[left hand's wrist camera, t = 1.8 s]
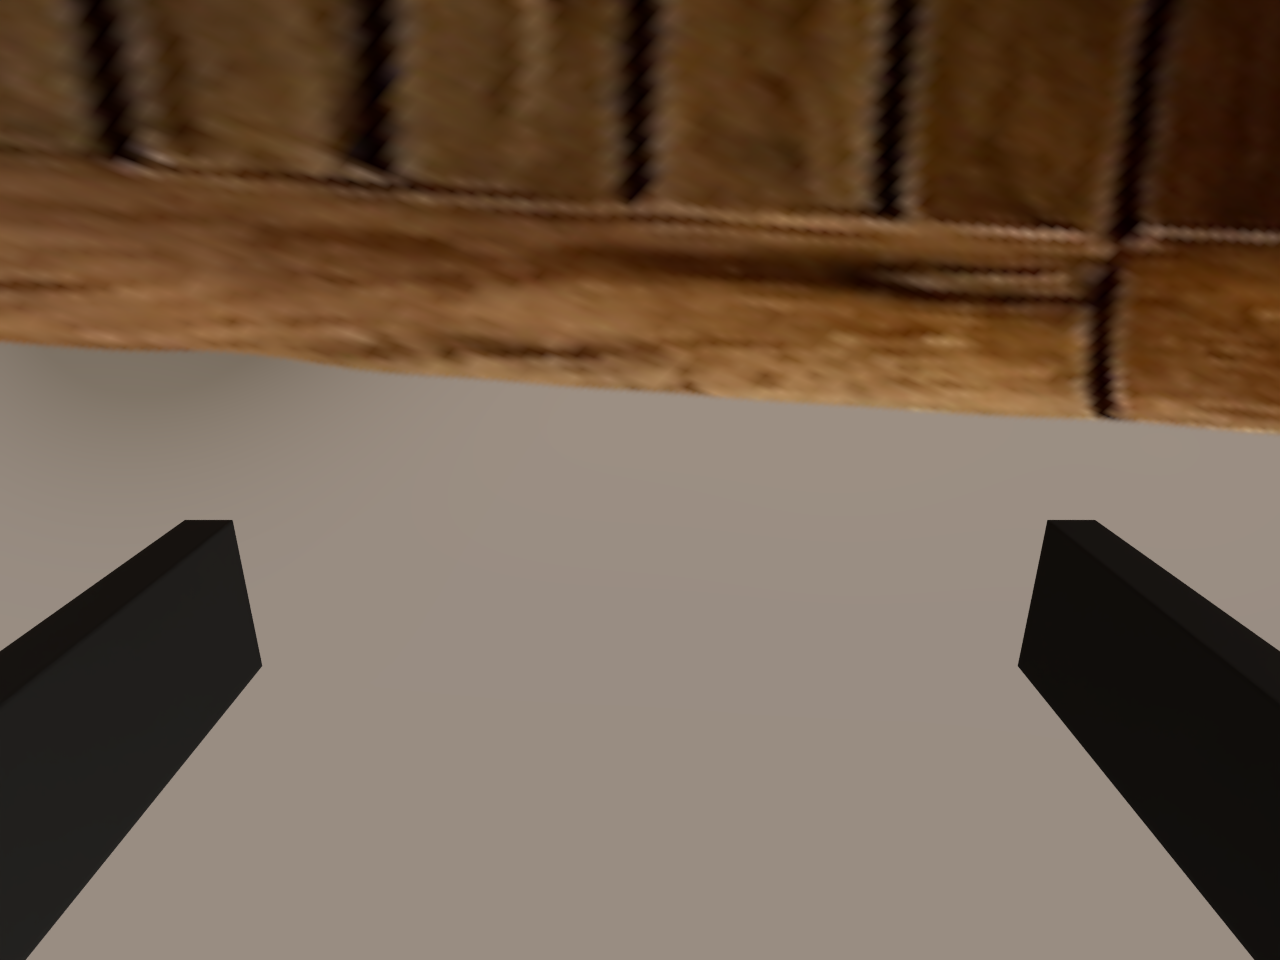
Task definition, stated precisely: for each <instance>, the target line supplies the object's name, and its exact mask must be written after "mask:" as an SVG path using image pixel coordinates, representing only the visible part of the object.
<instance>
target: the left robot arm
mask: <svg viewBox="0 0 1280 960" xmlns="http://www.w3.org/2000/svg"><path fill="white" fill-rule="evenodd" d="M261 667H262V663H261V658H260V653H259V648H258V643H257V638H256V633H255V628H254V623H253V619H252V614H251V609H250V604H249V599H248V594H247V589H246V584H245V579H244V575H243V569H242V564H241V560H240V555H239V550H238V545H237V540H236V535H235V530H234V525H233V521H232V520H184V521H183V522H182V523H180V524H179V525H177V526H176V527H175V528H173V529H172V530H170V531H169V532H168V533H166V534H165V535H163V536H162V537H161V538H159V539H158V540H156V541H155V542H153V543H152V544H151V545H149V546H148V547H146V548H145V549H144V550H142V551H141V552H139V553H138V554H137V555H135V556H134V557H132V558H131V559H130V560H128V561H127V562H125V563H124V564H122V565H121V566H120V567H118V568H117V569H115V570H114V571H113V572H111V573H110V574H108V575H107V576H106V577H104V578H103V579H101V580H100V581H99V582H97V583H96V584H94V585H93V586H92V587H90V588H89V589H87V590H86V591H84V592H83V593H82V594H80V595H79V596H77V597H76V598H75V599H73V600H72V601H70V602H69V603H68V604H66V605H65V606H63V607H62V608H61V609H59V610H58V611H56V612H55V613H54V614H52V615H51V616H49V617H48V618H46V619H45V620H44V621H42V622H41V623H39V624H38V625H37V626H35V627H34V628H32V629H31V630H30V631H28V632H27V633H25V634H24V635H23V636H21V637H20V638H18V639H17V640H16V641H14V642H13V643H11V644H10V645H9V646H7V647H6V648H4V649H3V650H1V651H0V960H26V959H27V957H28V956H29V955H30V954H31V952H32V951H33V950H34V949H35V947H36V946H37V945H38V944H39V942H40V941H41V940H42V939H43V938H44V936H45V935H46V934H47V933H48V931H49V930H50V929H51V928H52V926H53V925H54V924H55V923H56V921H57V920H58V919H59V918H60V916H61V915H62V914H63V913H64V911H65V910H66V909H67V908H68V906H69V905H70V904H71V903H72V902H73V900H74V899H75V898H76V896H77V895H78V894H79V893H80V891H81V890H82V889H83V888H84V887H85V885H86V884H87V883H88V882H89V880H90V879H91V878H92V877H93V875H94V874H95V873H96V872H97V870H98V869H99V868H100V867H101V865H102V864H103V863H104V862H105V861H106V859H107V858H108V857H109V856H110V854H111V853H112V852H113V851H114V849H115V848H116V847H117V846H118V844H119V843H120V842H121V841H122V839H123V838H124V837H125V836H126V834H127V833H128V832H129V831H130V829H131V828H132V827H133V826H134V824H135V823H136V822H137V821H138V820H139V818H140V817H141V816H142V815H143V813H144V812H145V811H146V810H147V808H148V807H149V806H150V805H151V803H152V802H153V801H154V800H155V798H156V797H157V796H158V795H159V793H160V792H161V791H162V790H163V788H164V787H165V786H166V785H167V784H168V782H169V781H170V780H171V778H172V777H173V776H174V775H175V773H176V772H177V771H178V770H179V769H180V767H181V766H182V765H183V764H184V762H185V761H186V760H187V759H188V757H189V756H190V755H191V754H192V752H193V751H194V750H195V749H196V747H197V746H198V745H199V744H200V743H201V741H202V740H203V739H204V738H205V736H206V735H207V734H208V733H209V731H210V730H211V729H212V728H213V726H214V725H215V724H216V723H217V721H218V720H219V719H220V718H221V716H222V715H223V714H224V713H225V711H226V710H227V709H228V708H229V706H230V705H231V704H232V703H233V702H234V700H235V699H236V698H237V697H238V695H239V694H240V693H241V692H242V690H243V689H244V688H245V687H246V685H247V684H248V683H249V682H250V680H251V679H252V678H253V677H254V675H255V674H256V673H257V672H258V670H259V669H260V668H261ZM1018 667H1019V668H1020V669H1021V670H1022V672H1023V673H1024V674H1025V675H1026V677H1027V678H1028V679H1029V680H1030V682H1031V683H1032V684H1033V685H1034V687H1035V688H1036V689H1037V690H1038V692H1039V693H1040V694H1041V695H1042V697H1043V698H1044V699H1045V700H1046V702H1047V703H1048V704H1049V705H1050V706H1051V708H1052V709H1053V710H1054V711H1055V713H1056V714H1057V715H1058V716H1059V718H1060V719H1061V720H1062V721H1063V723H1064V724H1065V725H1066V726H1067V728H1068V729H1069V730H1070V731H1071V733H1072V734H1073V735H1074V736H1075V738H1076V739H1077V740H1078V741H1079V743H1080V744H1081V745H1082V746H1083V747H1084V749H1085V750H1086V751H1087V752H1088V754H1089V755H1090V756H1091V757H1092V759H1093V760H1094V761H1095V762H1096V764H1097V765H1098V766H1099V767H1100V769H1101V770H1102V771H1103V772H1104V774H1105V775H1106V776H1107V777H1108V778H1109V780H1110V781H1111V782H1112V784H1113V785H1114V786H1115V787H1116V788H1117V790H1118V791H1119V792H1120V793H1121V795H1122V796H1123V797H1124V798H1125V800H1126V801H1127V802H1128V803H1129V805H1130V806H1131V807H1132V808H1133V810H1134V811H1135V812H1136V813H1137V815H1138V816H1139V817H1140V818H1141V819H1142V821H1143V822H1144V823H1145V824H1146V826H1147V827H1148V828H1149V829H1150V831H1151V832H1152V833H1153V834H1154V836H1155V837H1156V838H1157V839H1158V841H1159V842H1160V843H1161V844H1162V846H1163V847H1164V848H1165V849H1166V851H1167V852H1168V853H1169V854H1170V856H1171V857H1172V858H1173V859H1174V861H1175V862H1176V863H1177V864H1178V865H1179V867H1180V868H1181V869H1182V870H1183V872H1184V873H1185V874H1186V875H1187V877H1188V878H1189V879H1190V880H1191V882H1192V883H1193V884H1194V885H1195V887H1196V888H1197V889H1198V890H1199V892H1200V893H1201V894H1202V895H1203V897H1204V898H1205V899H1206V900H1207V901H1208V903H1209V904H1210V905H1211V906H1212V908H1213V909H1214V910H1215V911H1216V913H1217V914H1218V915H1219V916H1220V918H1221V919H1222V920H1223V921H1224V923H1225V924H1226V925H1227V926H1228V928H1229V929H1230V930H1231V931H1232V933H1233V934H1234V935H1235V936H1236V938H1237V939H1238V940H1239V941H1240V942H1241V944H1242V945H1243V946H1244V947H1245V949H1246V950H1247V951H1248V952H1249V954H1250V955H1251V956H1252V957H1253V959H1254V960H1280V651H1279V650H1277V649H1276V648H1274V647H1273V646H1272V645H1270V644H1269V643H1267V642H1266V641H1264V640H1263V639H1262V638H1260V637H1259V636H1257V635H1256V634H1255V633H1253V632H1252V631H1250V630H1249V629H1248V628H1246V627H1245V626H1243V625H1242V624H1240V623H1239V622H1238V621H1236V620H1235V619H1234V618H1232V617H1231V616H1229V615H1228V614H1226V613H1225V612H1224V611H1222V610H1221V609H1219V608H1218V607H1217V606H1215V605H1214V604H1212V603H1211V602H1210V601H1208V600H1207V599H1205V598H1204V597H1203V596H1201V595H1200V594H1198V593H1197V592H1196V591H1194V590H1193V589H1191V588H1190V587H1188V586H1187V585H1186V584H1184V583H1183V582H1181V581H1180V580H1179V579H1177V578H1176V577H1174V576H1173V575H1172V574H1170V573H1169V572H1167V571H1166V570H1165V569H1163V568H1162V567H1160V566H1159V565H1157V564H1156V563H1155V562H1153V561H1152V560H1151V559H1149V558H1148V557H1146V556H1145V555H1143V554H1142V553H1141V552H1139V551H1138V550H1136V549H1135V548H1134V547H1132V546H1131V545H1129V544H1128V543H1127V542H1125V541H1124V540H1122V539H1121V538H1120V537H1118V536H1117V535H1115V534H1114V533H1113V532H1111V531H1110V530H1108V529H1107V528H1105V527H1104V526H1103V525H1101V524H1100V523H1098V522H1097V521H1096V520H1047V525H1046V530H1045V535H1044V540H1043V545H1042V550H1041V555H1040V560H1039V564H1038V569H1037V574H1036V579H1035V584H1034V589H1033V594H1032V599H1031V604H1030V609H1029V614H1028V618H1027V623H1026V628H1025V633H1024V638H1023V643H1022V648H1021V653H1020V658H1019V663H1018Z"/></svg>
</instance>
